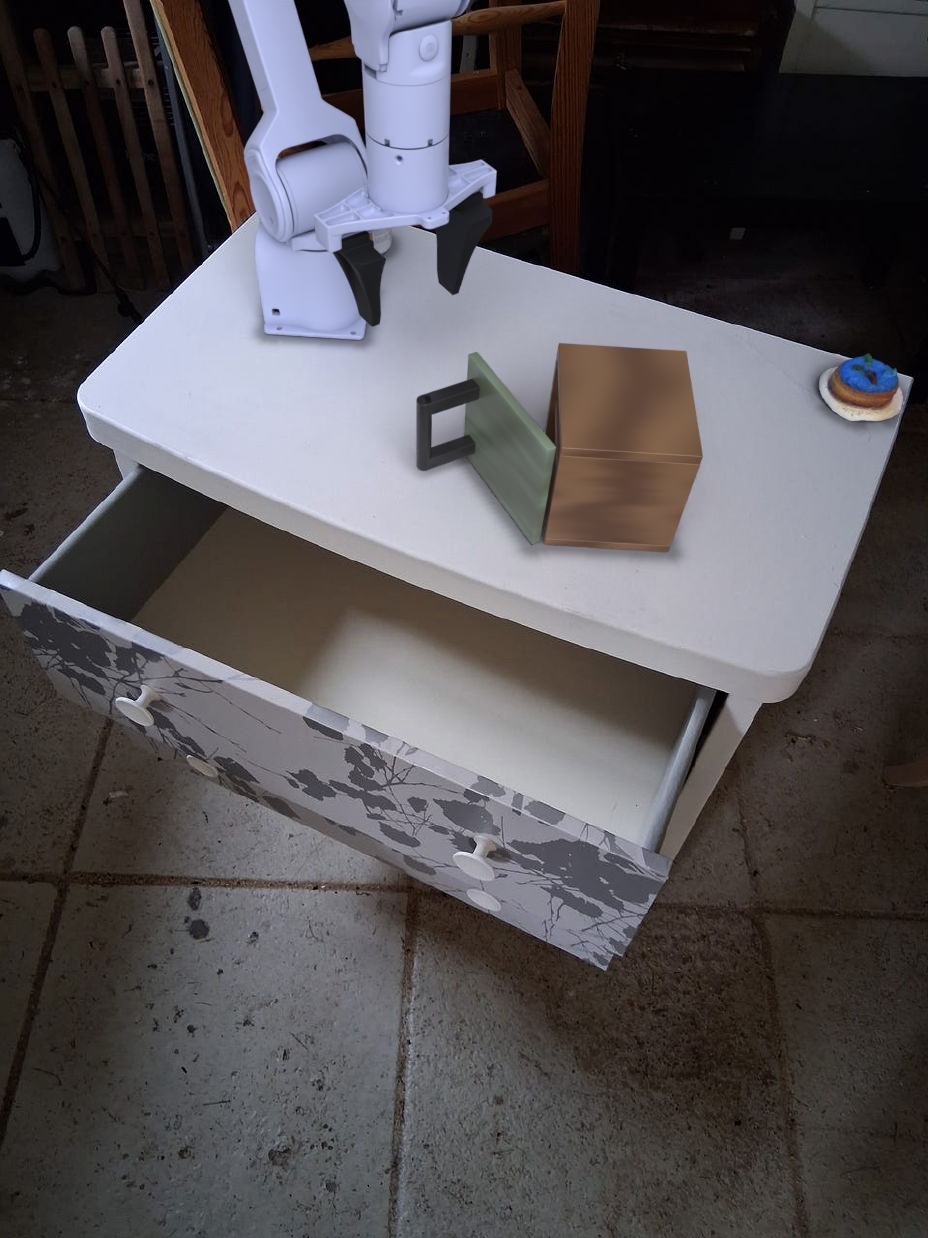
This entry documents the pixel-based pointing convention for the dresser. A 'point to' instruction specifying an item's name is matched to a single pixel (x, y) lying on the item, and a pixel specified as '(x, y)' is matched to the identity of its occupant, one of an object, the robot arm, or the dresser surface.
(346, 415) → the dresser surface
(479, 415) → the door
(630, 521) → the cupboard
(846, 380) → the dessert
